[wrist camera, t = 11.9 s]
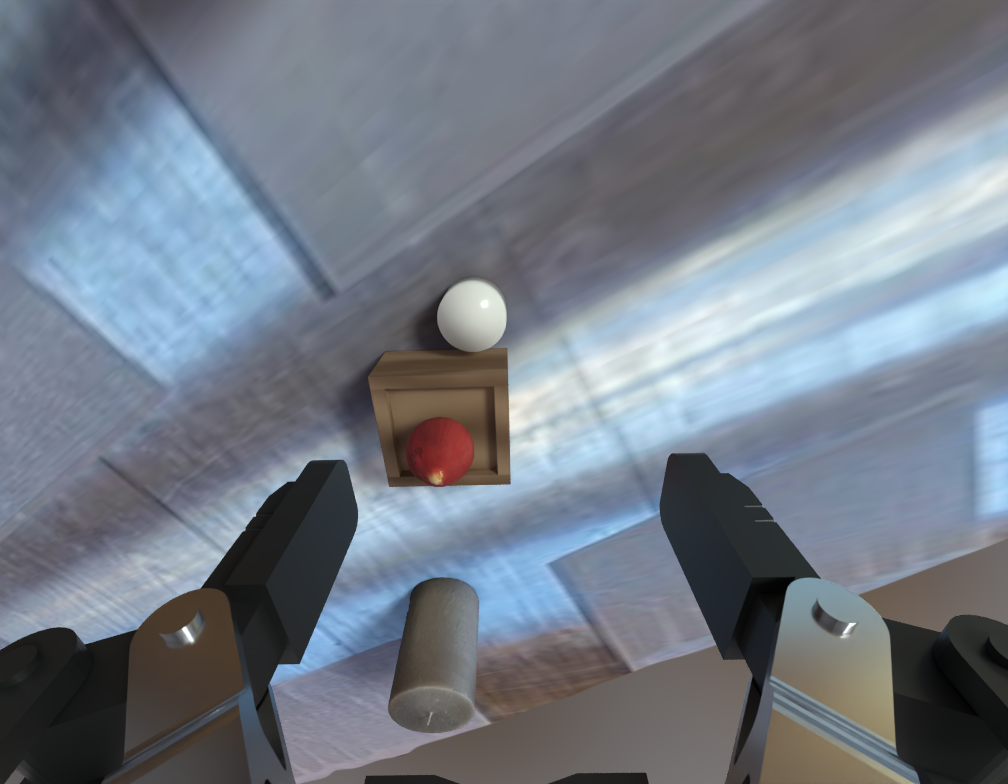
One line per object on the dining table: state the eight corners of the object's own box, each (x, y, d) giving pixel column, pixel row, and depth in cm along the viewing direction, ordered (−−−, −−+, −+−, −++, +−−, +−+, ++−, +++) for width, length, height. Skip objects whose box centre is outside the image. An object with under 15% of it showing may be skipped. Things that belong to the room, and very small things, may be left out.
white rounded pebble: (439, 277, 38) (433, 285, 35) (505, 275, 38) (505, 284, 35) (445, 339, 41) (440, 352, 38) (506, 338, 41) (507, 351, 38)
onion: (429, 459, 41) (413, 518, 34) (404, 411, 38) (382, 464, 31) (485, 443, 40) (481, 501, 33) (463, 393, 38) (453, 443, 30)
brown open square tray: (385, 351, 41) (367, 377, 36) (507, 348, 41) (507, 373, 36) (402, 451, 47) (389, 486, 41) (509, 448, 46) (510, 484, 41)
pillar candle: (398, 606, 59) (369, 733, 46) (431, 566, 55) (409, 692, 42) (458, 629, 61) (447, 755, 48) (493, 592, 57) (491, 718, 44)
